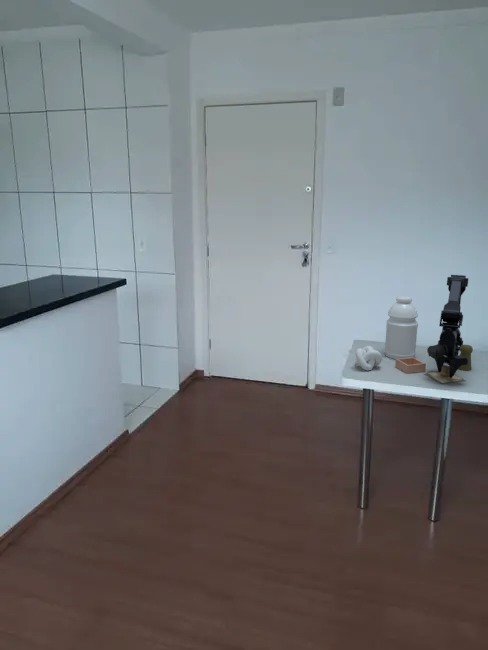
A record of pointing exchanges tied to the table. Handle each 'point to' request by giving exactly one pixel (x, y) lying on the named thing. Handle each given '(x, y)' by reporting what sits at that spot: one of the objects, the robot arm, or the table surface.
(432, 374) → the lid
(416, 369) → the pink open box
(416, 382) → the table surface
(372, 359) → the white decorative knot
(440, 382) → the mat
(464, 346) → the olive pestle
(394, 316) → the bottle
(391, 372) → the table surface
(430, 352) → the robot arm
